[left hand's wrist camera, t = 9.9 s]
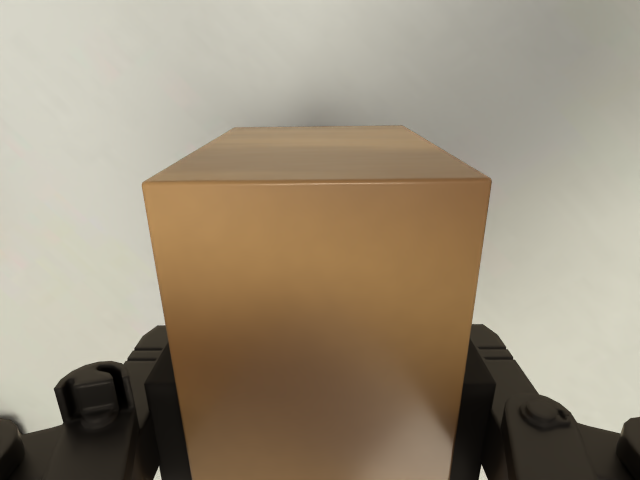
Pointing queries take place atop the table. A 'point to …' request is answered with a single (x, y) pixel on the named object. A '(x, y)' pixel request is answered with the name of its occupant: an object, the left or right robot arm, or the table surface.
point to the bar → (318, 300)
